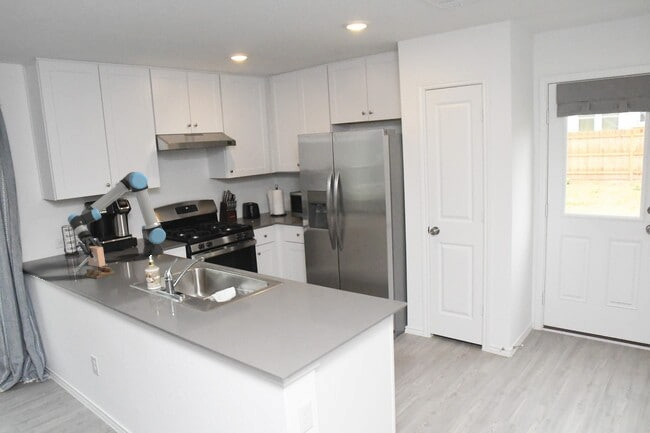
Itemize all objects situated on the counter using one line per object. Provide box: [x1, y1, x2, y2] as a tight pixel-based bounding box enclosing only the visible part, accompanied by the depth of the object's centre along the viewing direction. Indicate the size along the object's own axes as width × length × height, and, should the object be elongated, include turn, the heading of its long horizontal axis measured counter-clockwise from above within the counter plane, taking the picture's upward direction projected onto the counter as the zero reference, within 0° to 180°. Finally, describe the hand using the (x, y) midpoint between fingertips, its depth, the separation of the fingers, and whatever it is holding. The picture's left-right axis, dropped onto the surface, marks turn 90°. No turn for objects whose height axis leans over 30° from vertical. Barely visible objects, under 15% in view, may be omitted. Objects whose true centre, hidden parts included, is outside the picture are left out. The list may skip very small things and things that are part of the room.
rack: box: [84, 266, 116, 279], centre depth 303 cm, size 15×12×4 cm
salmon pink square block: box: [87, 245, 106, 267], centre depth 301 cm, size 12×4×12 cm, turn 55°
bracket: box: [72, 256, 91, 274], centre depth 324 cm, size 3×21×10 cm, turn 175°
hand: (99, 259), depth 299 cm, fingers closed on salmon pink square block, 4 cm apart
